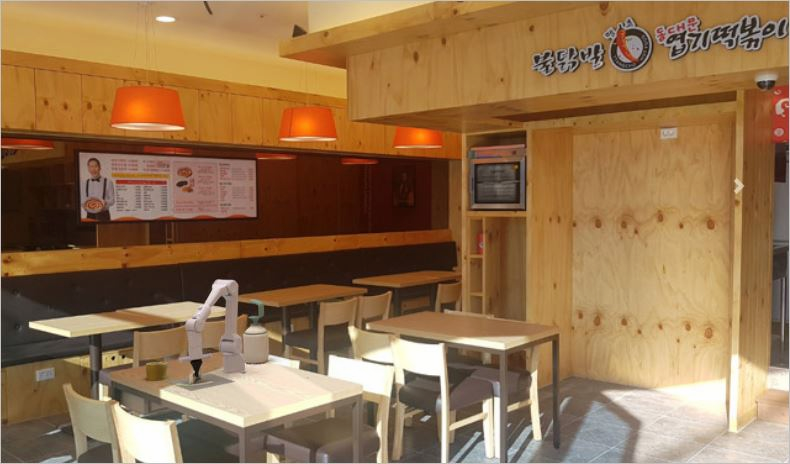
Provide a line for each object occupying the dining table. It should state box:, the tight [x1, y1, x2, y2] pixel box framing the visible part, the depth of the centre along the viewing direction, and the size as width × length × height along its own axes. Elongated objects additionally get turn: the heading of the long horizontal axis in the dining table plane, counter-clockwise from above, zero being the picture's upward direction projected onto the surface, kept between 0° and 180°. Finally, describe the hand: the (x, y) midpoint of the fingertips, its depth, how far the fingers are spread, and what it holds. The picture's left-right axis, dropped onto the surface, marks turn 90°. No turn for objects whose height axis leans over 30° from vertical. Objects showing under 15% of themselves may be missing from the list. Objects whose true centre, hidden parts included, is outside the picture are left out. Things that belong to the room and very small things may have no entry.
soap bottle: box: [242, 298, 270, 365], centre depth 350 cm, size 12×12×31 cm
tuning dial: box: [188, 367, 202, 384], centre depth 309 cm, size 13×4×4 cm, turn 3°
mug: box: [145, 361, 169, 382], centre depth 318 cm, size 12×10×10 cm
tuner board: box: [168, 373, 236, 392], centre depth 308 cm, size 21×22×1 cm
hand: (196, 376), depth 307 cm, fingers closed, pressing on tuning dial
